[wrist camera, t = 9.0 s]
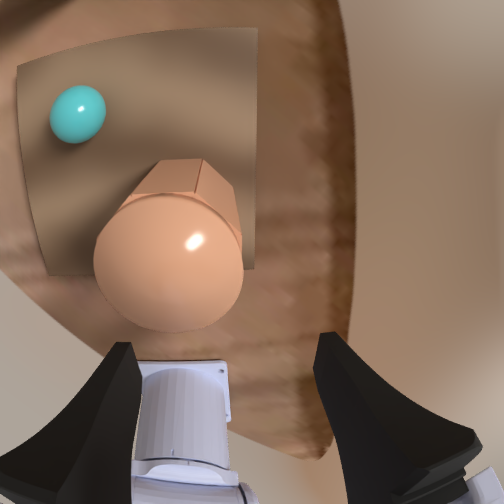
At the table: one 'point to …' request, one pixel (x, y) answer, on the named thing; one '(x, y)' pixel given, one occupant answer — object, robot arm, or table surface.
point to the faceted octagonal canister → (173, 249)
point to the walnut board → (137, 130)
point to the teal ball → (77, 114)
